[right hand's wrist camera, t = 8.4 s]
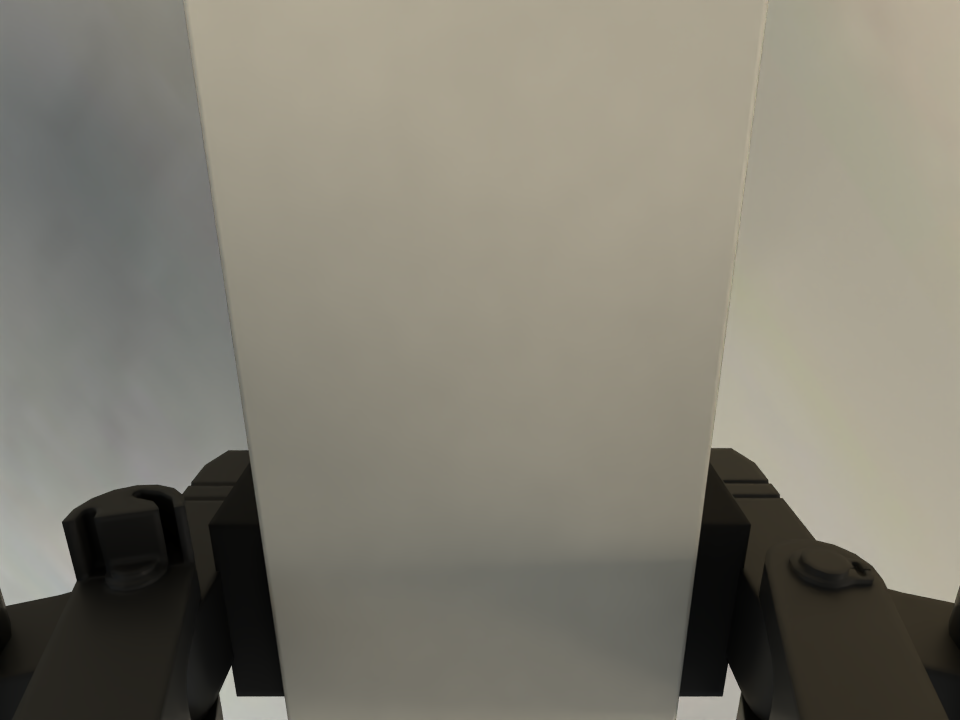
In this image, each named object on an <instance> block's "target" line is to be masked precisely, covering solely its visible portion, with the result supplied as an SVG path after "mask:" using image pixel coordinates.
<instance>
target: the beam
mask: <svg viewBox="0 0 960 720" xmlns="http://www.w3.org/2000/svg"><path fill="white" fill-rule="evenodd" d="M183 5H184V12H185V18H186V25H187V32H188V39H189V46H190V53H191V59H192V66H193V73H194V80H195V87H196V94H197V100H198V107H199V114H200V121H201V128H202V135H203V141H204V148H205V155H206V162H207V169H208V176H209V183H210V189H211V196H212V203H213V210H214V217H215V224H216V230H217V237H218V244H219V251H220V258H221V265H222V271H223V278H224V285H225V292H226V299H227V306H228V312H229V319H230V326H231V333H232V340H233V347H234V353H235V360H236V367H237V374H238V381H239V388H240V394H241V401H242V408H243V415H244V422H245V429H246V436H247V442H248V449H249V456H250V463H251V470H252V477H253V483H254V490H255V497H256V504H257V511H258V518H259V524H260V531H261V538H262V545H263V552H264V559H265V565H266V572H267V579H268V586H269V593H270V600H271V606H272V613H273V620H274V627H275V634H276V641H277V647H278V654H279V661H280V668H281V675H282V682H283V688H284V695H285V702H286V709H287V716H288V720H676V716H677V708H678V700H679V692H680V685H681V677H682V669H683V661H684V654H685V646H686V638H687V630H688V622H689V615H690V607H691V599H692V591H693V584H694V576H695V568H696V560H697V552H698V545H699V537H700V529H701V521H702V514H703V506H704V498H705V490H706V482H707V475H708V467H709V459H710V451H711V444H712V436H713V428H714V420H715V412H716V405H717V397H718V389H719V381H720V374H721V366H722V358H723V350H724V342H725V335H726V327H727V319H728V311H729V304H730V296H731V288H732V280H733V272H734V265H735V257H736V249H737V241H738V234H739V226H740V218H741V210H742V202H743V195H744V187H745V179H746V171H747V164H748V156H749V148H750V140H751V132H752V125H753V117H754V109H755V101H756V93H757V86H758V78H759V70H760V62H761V55H762V47H763V39H764V31H765V23H766V16H767V8H768V0H183Z"/></svg>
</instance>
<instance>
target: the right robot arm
mask: <svg viewBox="0 0 960 720" xmlns="http://www.w3.org/2000/svg"><path fill="white" fill-rule="evenodd" d="M62 524H63V528H64V532H65V536H66V540H67V544H68V548H69V551H70V555H71V559H72V563H73V567H74V571H75V575H76V579H77V582H76V584H75V586H74V588H73V590H72V592H69V593H65V594H62V595H58V596H53V597H48V598H43V599H38V600H34V601H29V602H24V603H19V604H14V605H9V606H5V602H4V599H3V596H2V593H1V589H0V720H223V714H222V707H221V702H220V696H219V692H220V690H221V687H222V685H223V683H224V681H225V679H226V676H227V674H228V672H229V670H230V668H231V665H232V670H233V676H234V682H235V688H236V694H237V696H285V695H284V688H283V682H282V675H281V668H280V661H279V654H278V647H277V641H276V634H275V627H274V620H273V613H272V606H271V600H270V593H269V586H268V579H267V572H266V565H265V559H264V552H263V545H262V538H261V531H260V524H259V518H258V511H257V504H256V497H255V490H254V483H253V477H252V470H251V463H250V456H249V450H228V451H227V452H225V453H224V454H222V455H220V456H219V457H217V458H216V459H214V460H212V461H211V462H209V463H208V464H206V465H205V466H204V467H203V468H202V470H201V471H200V472H199V473H198V475H197V476H196V477H195V479H194V480H193V481H192V482H191V486H188V487H187V489H186V490H185V491H184V493H183V494H181V493H180V492H178V491H177V490H176V489H174V488H171V487H166V486H161V485H136V486H131V487H126V488H121V489H117V490H113V491H110V492H107V493H105V494H102V495H100V496H97V497H94V498H92V499H90V500H88V501H87V502H85V503H83V504H82V505H80V506H78V507H77V508H75V509H73V511H72V512H71V513H70V514H69V515H68V516H67V517H66V518H65V519H64V520H63V521H62ZM728 663H729V665H730V668H731V670H732V672H733V674H734V676H735V679H736V681H737V683H738V685H739V687H740V690H741V696H740V702H739V707H738V713H737V719H736V720H960V587H959V590H958V593H957V597H956V600H955V603H951V602H946V601H941V600H936V599H931V598H926V597H921V596H916V595H911V594H906V593H902V592H898V591H894V590H890V589H887V587H886V585H885V583H884V581H883V579H882V578H881V577H880V575H879V574H878V573H877V571H876V570H875V569H874V568H873V566H871V565H870V564H869V563H867V562H866V561H864V560H863V559H861V558H860V557H859V556H857V555H856V554H854V553H852V552H849V551H847V550H845V549H843V548H840V547H838V546H836V545H833V544H829V543H824V542H820V541H816V540H815V538H814V537H813V536H812V535H811V533H810V532H809V531H808V530H807V528H806V527H805V526H804V525H803V523H802V522H801V521H800V520H799V518H798V517H797V516H796V514H795V513H794V512H793V511H792V509H791V508H790V507H789V506H788V504H787V503H786V502H785V501H784V499H783V498H780V494H779V493H778V492H777V490H776V489H775V488H774V487H773V485H772V484H769V483H768V479H767V478H766V477H765V475H764V474H763V473H762V471H761V470H760V469H759V468H758V466H757V465H756V464H755V463H754V462H752V461H751V460H749V459H748V458H746V457H744V456H743V455H741V454H740V453H738V452H736V451H735V450H733V449H732V448H711V451H710V459H709V467H708V475H707V482H706V490H705V498H704V506H703V514H702V521H701V529H700V537H699V545H698V552H697V560H696V568H695V576H694V584H693V591H692V599H691V607H690V615H689V622H688V630H687V638H686V646H685V654H684V661H683V669H682V677H681V685H680V692H679V696H723V691H724V685H725V679H726V673H727V667H728Z"/></svg>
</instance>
